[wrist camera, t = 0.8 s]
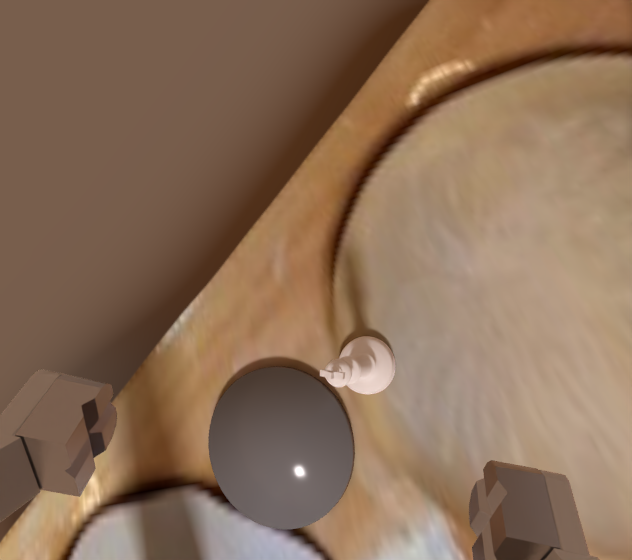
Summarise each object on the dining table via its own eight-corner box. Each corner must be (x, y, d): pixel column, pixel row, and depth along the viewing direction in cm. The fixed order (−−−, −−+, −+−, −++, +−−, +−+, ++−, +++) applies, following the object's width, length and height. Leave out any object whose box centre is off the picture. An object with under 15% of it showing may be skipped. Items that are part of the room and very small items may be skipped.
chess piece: (393, 397, 44) (360, 417, 34) (337, 389, 45) (292, 406, 36) (397, 339, 44) (366, 343, 35) (342, 333, 46) (298, 335, 36)
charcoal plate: (285, 334, 48) (282, 335, 47) (387, 461, 43) (385, 463, 43) (187, 431, 50) (182, 432, 50) (274, 558, 46) (270, 562, 45)
